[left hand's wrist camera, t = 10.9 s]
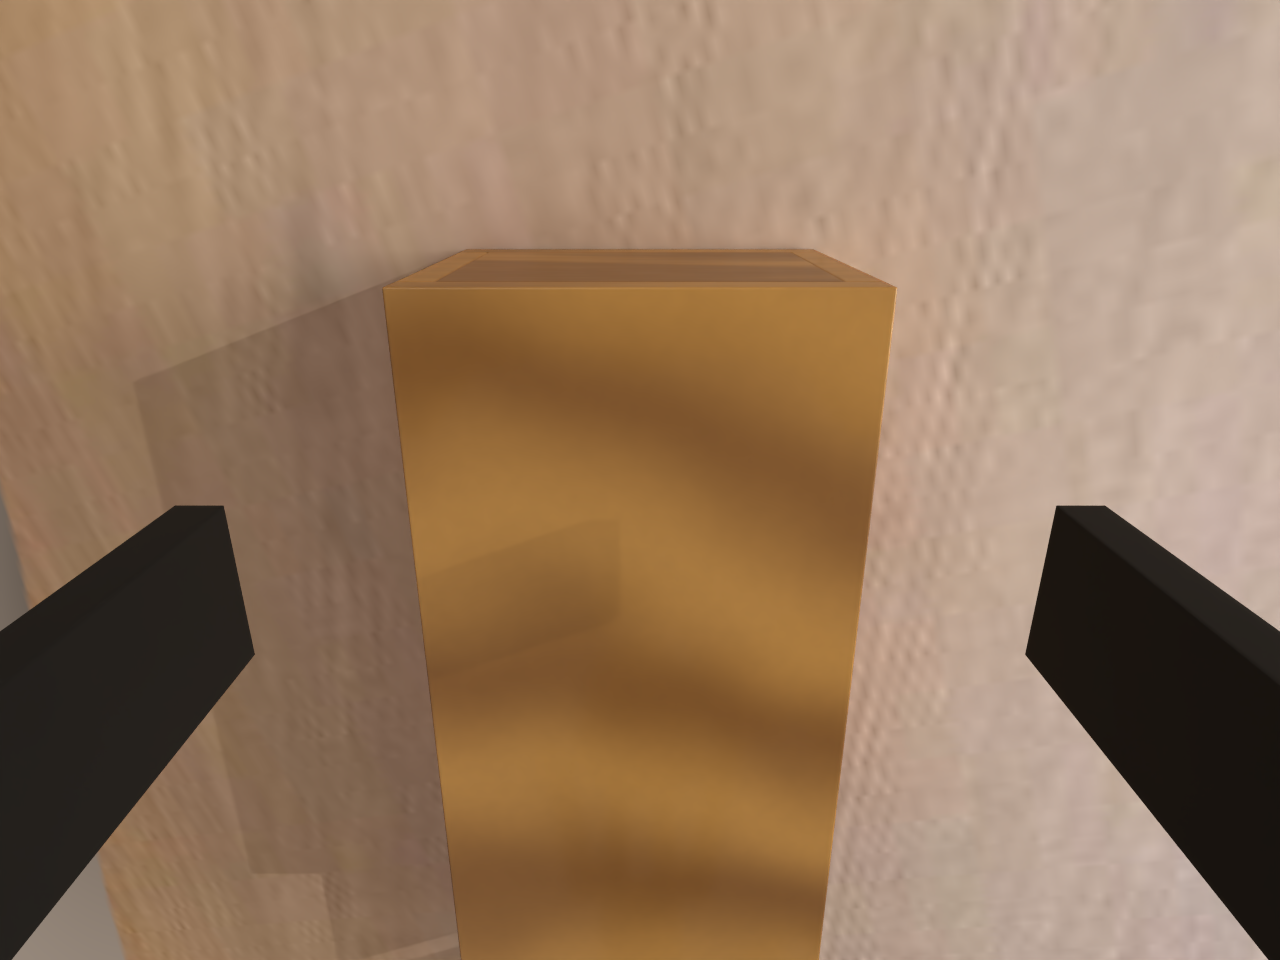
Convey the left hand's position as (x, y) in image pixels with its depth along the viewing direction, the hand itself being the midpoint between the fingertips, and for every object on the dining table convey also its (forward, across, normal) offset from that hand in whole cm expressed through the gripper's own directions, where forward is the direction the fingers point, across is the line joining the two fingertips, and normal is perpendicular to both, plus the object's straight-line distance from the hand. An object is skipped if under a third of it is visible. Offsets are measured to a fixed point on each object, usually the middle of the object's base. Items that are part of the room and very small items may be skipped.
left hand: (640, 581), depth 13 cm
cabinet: (+14, 0, -7) cm, 16 cm away
